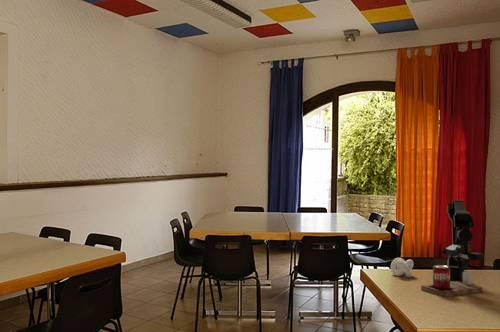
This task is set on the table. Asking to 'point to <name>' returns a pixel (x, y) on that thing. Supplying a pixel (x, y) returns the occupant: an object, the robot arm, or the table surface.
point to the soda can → (441, 277)
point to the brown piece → (455, 287)
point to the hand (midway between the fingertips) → (461, 272)
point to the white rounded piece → (402, 267)
